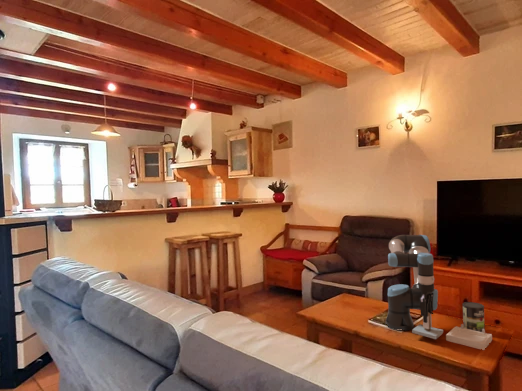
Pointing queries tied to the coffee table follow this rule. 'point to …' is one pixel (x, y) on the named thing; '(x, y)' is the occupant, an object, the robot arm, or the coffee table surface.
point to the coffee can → (473, 316)
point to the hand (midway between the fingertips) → (427, 327)
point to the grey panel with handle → (427, 330)
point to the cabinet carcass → (469, 337)
